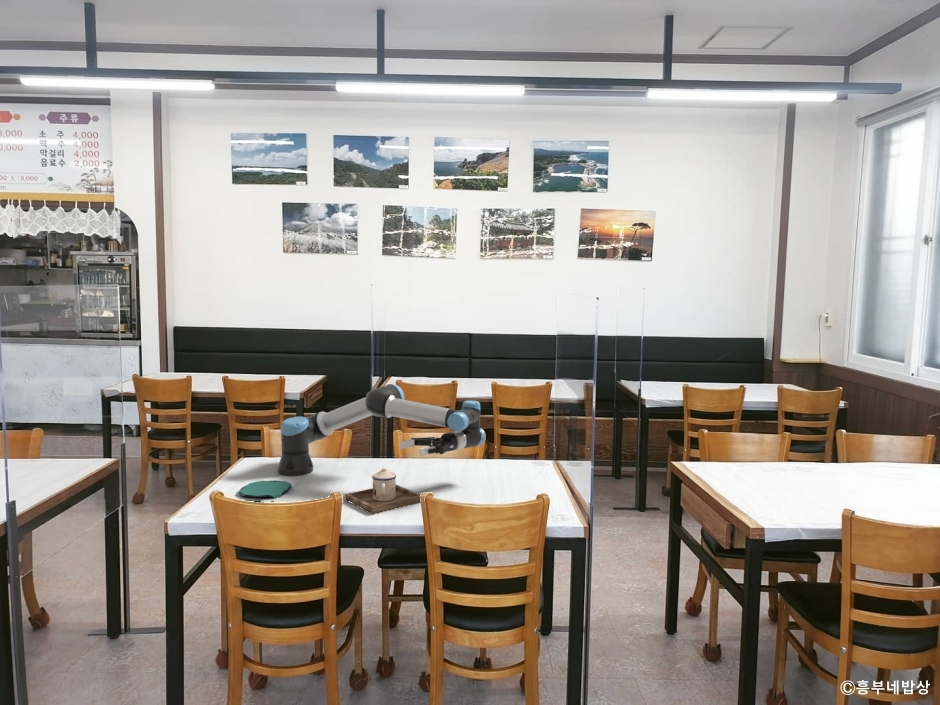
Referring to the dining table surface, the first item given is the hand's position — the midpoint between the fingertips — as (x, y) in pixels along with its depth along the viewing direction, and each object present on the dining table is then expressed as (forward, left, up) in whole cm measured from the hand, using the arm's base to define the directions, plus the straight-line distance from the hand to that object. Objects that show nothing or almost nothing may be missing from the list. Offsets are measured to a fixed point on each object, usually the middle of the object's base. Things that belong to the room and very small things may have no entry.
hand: (410, 448), depth 250 cm
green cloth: (-37, -45, -20) cm, 62 cm away
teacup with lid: (-1, -12, -18) cm, 22 cm away
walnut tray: (-1, -12, -19) cm, 22 cm away
